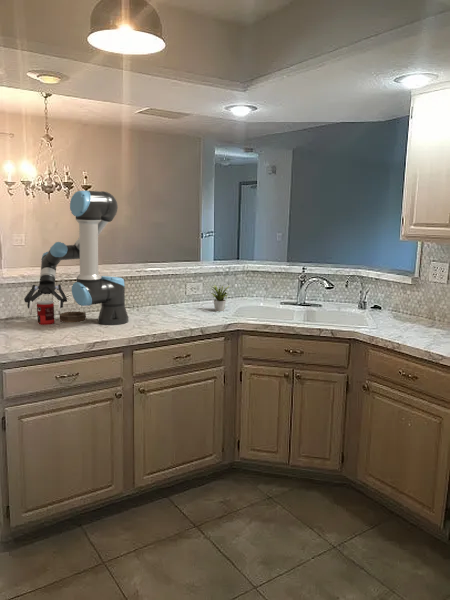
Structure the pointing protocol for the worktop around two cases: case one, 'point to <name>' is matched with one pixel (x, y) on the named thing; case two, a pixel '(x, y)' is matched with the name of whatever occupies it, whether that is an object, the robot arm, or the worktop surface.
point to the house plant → (219, 298)
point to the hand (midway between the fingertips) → (44, 313)
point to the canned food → (45, 312)
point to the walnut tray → (72, 317)
